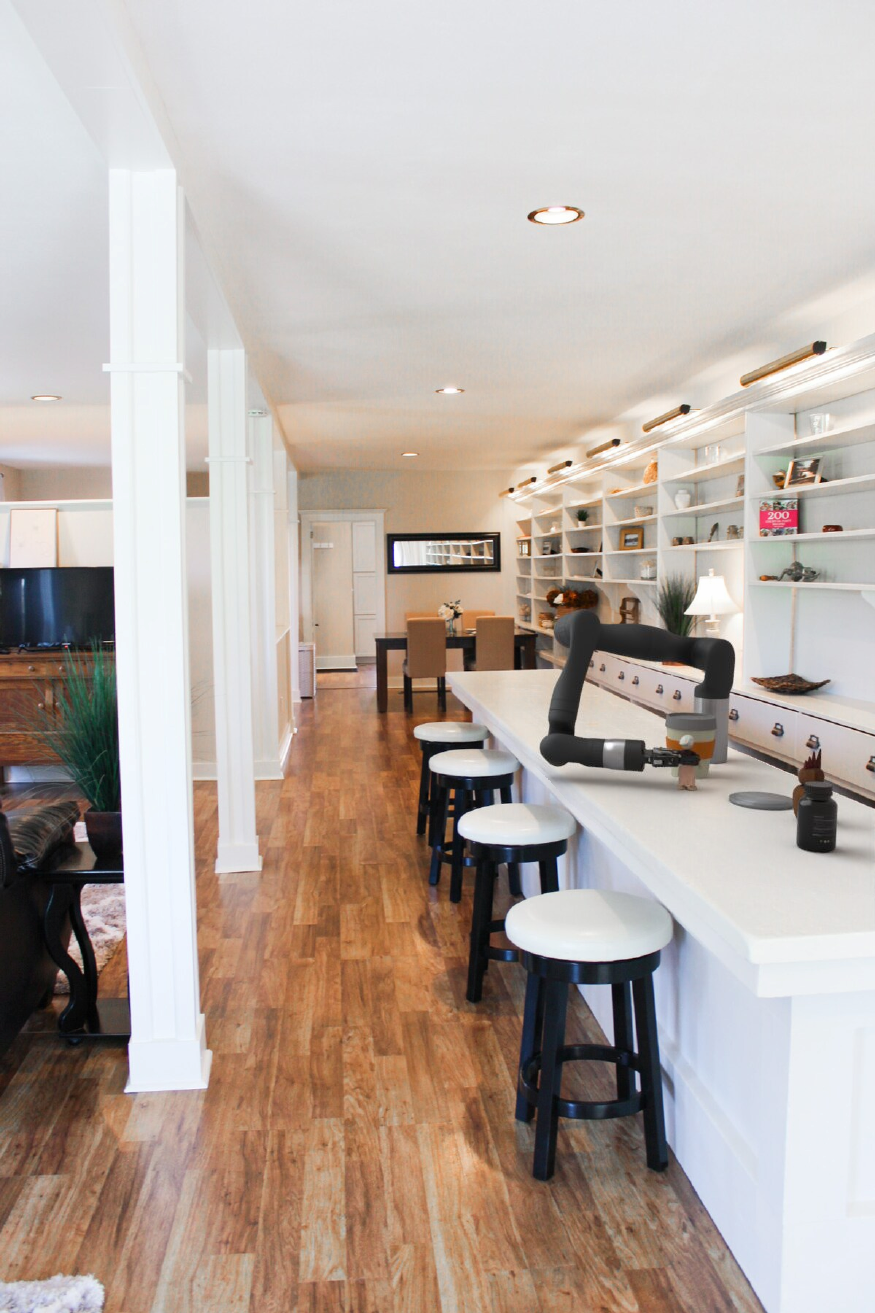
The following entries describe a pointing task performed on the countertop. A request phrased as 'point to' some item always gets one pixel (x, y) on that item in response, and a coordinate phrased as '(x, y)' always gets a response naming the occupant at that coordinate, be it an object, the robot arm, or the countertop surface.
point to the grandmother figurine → (687, 771)
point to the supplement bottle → (817, 818)
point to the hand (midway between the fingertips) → (698, 759)
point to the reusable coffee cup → (702, 733)
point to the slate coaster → (761, 800)
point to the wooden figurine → (808, 777)
